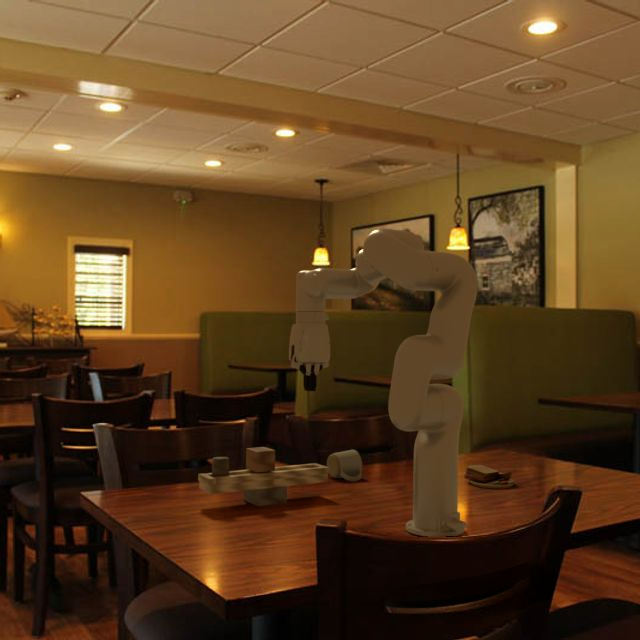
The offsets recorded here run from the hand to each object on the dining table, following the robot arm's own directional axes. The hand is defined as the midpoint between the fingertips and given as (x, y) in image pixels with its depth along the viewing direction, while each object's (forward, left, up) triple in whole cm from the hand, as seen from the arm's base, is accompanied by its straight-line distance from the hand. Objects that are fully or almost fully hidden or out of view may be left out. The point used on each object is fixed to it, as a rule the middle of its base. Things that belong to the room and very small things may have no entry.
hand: (309, 390), depth 207 cm
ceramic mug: (+16, -22, -27) cm, 38 cm away
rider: (0, +14, -21) cm, 25 cm away
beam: (0, +12, -27) cm, 30 cm away
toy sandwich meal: (-9, -52, -28) cm, 60 cm away
